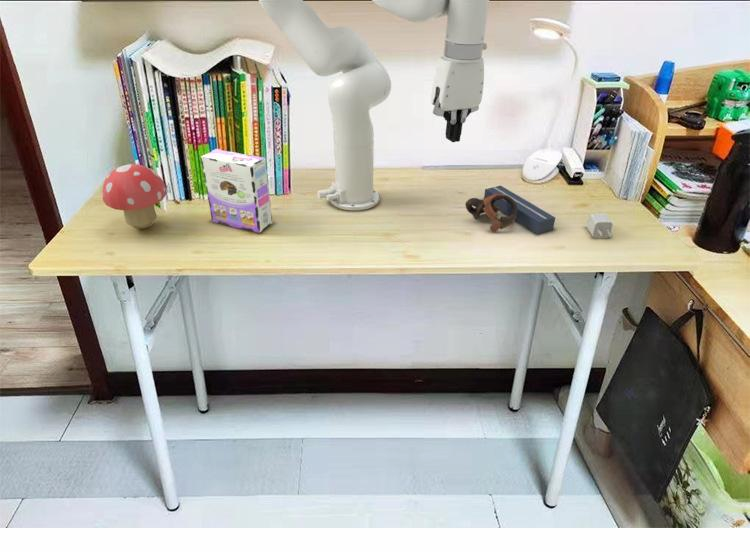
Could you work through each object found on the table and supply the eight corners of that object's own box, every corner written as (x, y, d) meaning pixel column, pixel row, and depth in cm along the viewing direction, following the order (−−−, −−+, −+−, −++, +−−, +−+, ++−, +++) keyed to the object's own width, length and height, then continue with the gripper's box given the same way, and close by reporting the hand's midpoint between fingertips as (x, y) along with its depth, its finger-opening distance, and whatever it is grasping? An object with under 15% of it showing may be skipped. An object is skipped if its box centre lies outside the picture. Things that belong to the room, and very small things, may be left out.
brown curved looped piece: (507, 214, 138) (521, 194, 130) (505, 245, 133) (520, 227, 126) (461, 201, 136) (473, 180, 129) (457, 232, 132) (469, 213, 124)
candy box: (273, 223, 131) (267, 157, 122) (259, 234, 127) (251, 166, 118) (226, 211, 136) (216, 146, 127) (210, 221, 132) (199, 155, 123)
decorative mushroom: (119, 216, 134) (103, 156, 125) (177, 212, 135) (165, 153, 127) (106, 244, 123) (87, 180, 114) (169, 239, 124) (155, 177, 116)
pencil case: (536, 234, 128) (539, 221, 126) (483, 200, 143) (485, 188, 141) (553, 229, 130) (555, 217, 128) (499, 196, 145) (500, 184, 143)
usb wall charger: (603, 228, 131) (607, 213, 129) (613, 243, 125) (617, 227, 123) (586, 228, 131) (589, 213, 129) (595, 243, 125) (599, 227, 123)
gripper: (483, 44, 116) (471, 130, 126) (421, 49, 110) (414, 138, 121) (505, 52, 110) (491, 141, 121) (440, 57, 105) (431, 150, 115)
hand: (452, 139), depth 121 cm, fingers closed
